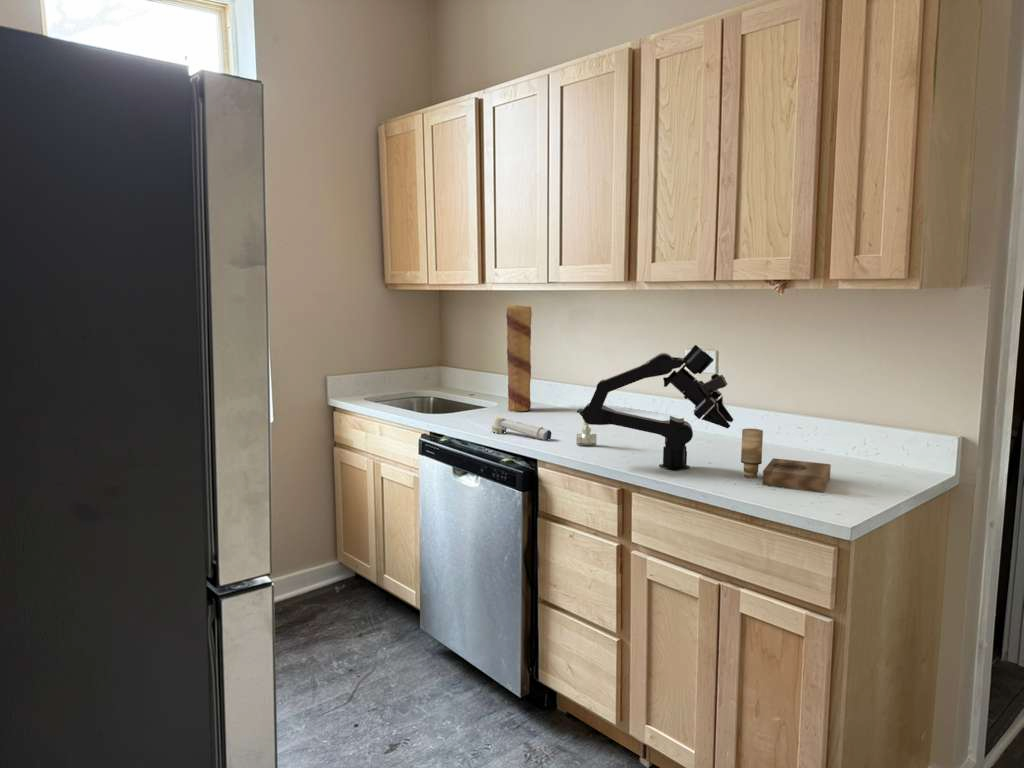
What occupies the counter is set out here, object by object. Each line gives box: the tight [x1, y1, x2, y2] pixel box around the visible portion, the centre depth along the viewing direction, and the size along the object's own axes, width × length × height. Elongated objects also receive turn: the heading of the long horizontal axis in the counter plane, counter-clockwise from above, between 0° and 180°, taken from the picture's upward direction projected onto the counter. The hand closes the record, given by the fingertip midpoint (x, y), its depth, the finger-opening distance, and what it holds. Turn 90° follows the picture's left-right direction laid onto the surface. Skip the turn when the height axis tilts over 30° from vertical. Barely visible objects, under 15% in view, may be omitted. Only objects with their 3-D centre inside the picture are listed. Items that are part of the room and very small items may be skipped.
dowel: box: [740, 428, 764, 478], centre depth 199 cm, size 5×5×13 cm
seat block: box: [761, 457, 832, 493], centre depth 194 cm, size 15×16×4 cm
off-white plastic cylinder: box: [490, 415, 552, 441], centre depth 256 cm, size 5×7×25 cm
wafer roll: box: [505, 305, 533, 413], centre depth 309 cm, size 10×11×45 cm
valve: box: [575, 408, 597, 446], centre depth 240 cm, size 7×7×12 cm
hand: (730, 424), depth 203 cm, fingers open, 9 cm apart
